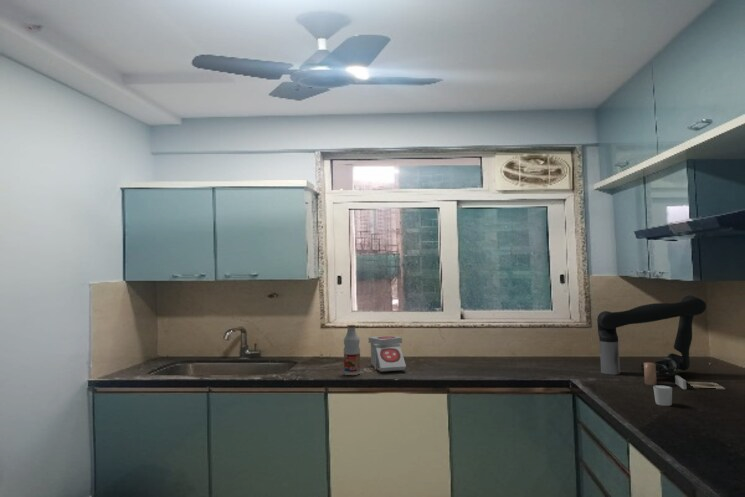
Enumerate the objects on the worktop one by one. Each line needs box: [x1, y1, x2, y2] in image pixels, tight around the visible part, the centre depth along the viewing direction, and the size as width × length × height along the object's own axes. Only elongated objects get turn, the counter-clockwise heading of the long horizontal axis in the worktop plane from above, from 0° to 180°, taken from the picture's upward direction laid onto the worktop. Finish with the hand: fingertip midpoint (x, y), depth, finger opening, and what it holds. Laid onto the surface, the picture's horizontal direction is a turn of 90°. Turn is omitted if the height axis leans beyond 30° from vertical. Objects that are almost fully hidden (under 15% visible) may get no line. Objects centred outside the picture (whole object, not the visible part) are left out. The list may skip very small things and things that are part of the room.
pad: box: [686, 381, 726, 390], centre depth 226 cm, size 12×12×1 cm
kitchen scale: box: [368, 334, 407, 372], centre depth 287 cm, size 19×30×18 cm, turn 12°
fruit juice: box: [343, 324, 361, 373], centre depth 274 cm, size 9×9×28 cm
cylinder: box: [643, 361, 658, 386], centre depth 233 cm, size 5×5×10 cm
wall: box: [674, 374, 688, 390], centre depth 227 cm, size 12×1×4 cm, turn 163°
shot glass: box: [652, 384, 673, 407], centre depth 199 cm, size 7×7×7 cm
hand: (652, 370), depth 235 cm, fingers open, 8 cm apart
